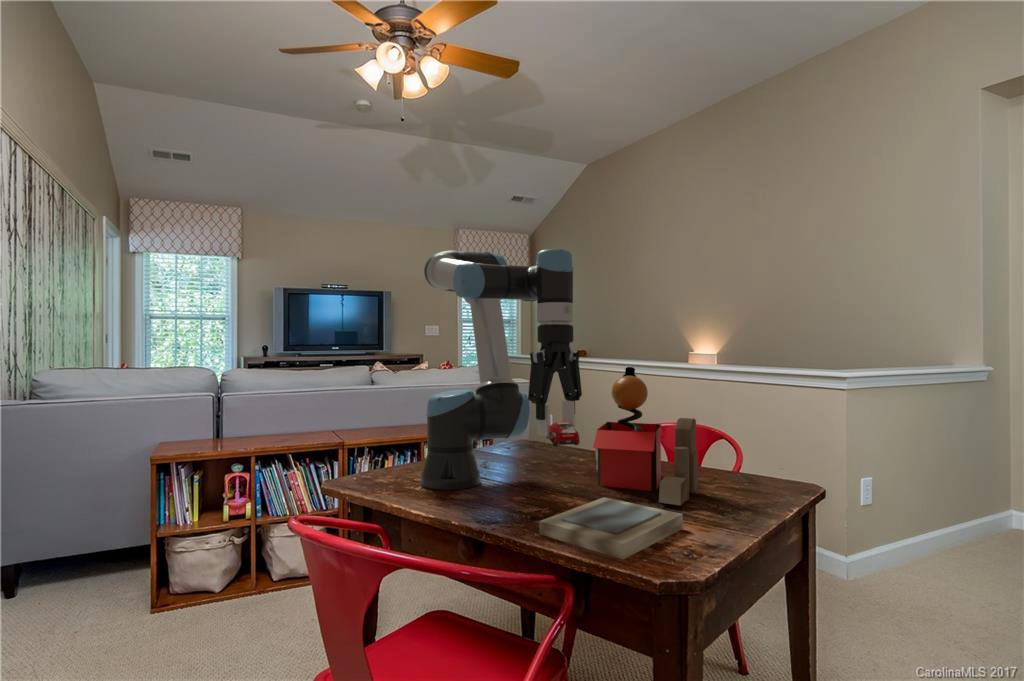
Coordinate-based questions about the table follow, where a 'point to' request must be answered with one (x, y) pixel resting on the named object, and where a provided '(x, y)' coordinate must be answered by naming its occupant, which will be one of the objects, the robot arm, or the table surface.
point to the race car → (563, 434)
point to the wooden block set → (682, 465)
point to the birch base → (612, 526)
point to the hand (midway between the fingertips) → (556, 433)
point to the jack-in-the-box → (629, 441)
